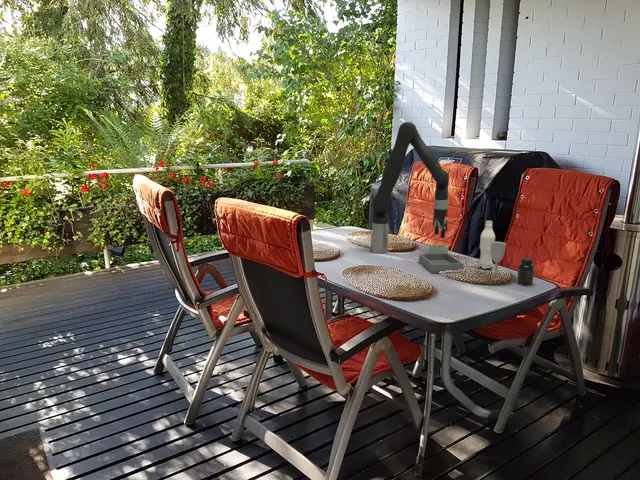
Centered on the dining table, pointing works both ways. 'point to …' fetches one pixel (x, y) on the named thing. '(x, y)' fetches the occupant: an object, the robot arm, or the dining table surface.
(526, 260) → the supplement bottle
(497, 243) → the chalice
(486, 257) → the water bottle
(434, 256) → the grey tray
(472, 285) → the dining table surface
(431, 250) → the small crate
